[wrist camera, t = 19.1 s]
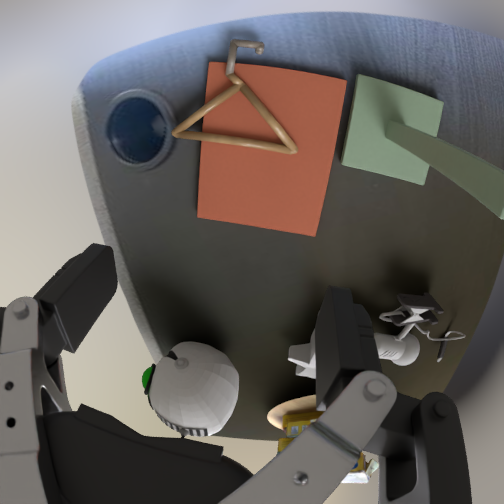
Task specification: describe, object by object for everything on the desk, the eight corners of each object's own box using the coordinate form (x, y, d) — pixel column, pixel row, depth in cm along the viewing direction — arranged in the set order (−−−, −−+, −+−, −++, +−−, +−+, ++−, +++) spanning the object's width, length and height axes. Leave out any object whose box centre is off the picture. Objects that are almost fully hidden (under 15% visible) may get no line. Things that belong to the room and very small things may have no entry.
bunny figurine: (278, 379, 44) (316, 324, 35) (281, 353, 48) (316, 294, 39) (332, 390, 45) (381, 339, 35) (332, 364, 49) (377, 310, 39)
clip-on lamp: (461, 303, 41) (396, 280, 36) (481, 327, 36) (420, 311, 31) (421, 353, 46) (349, 343, 41) (436, 378, 41) (365, 376, 36)
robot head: (156, 309, 45) (102, 415, 28) (247, 324, 44) (222, 447, 27) (169, 371, 54) (135, 460, 37) (242, 385, 53) (224, 482, 36)
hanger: (169, 137, 30) (181, 36, 24) (172, 136, 31) (184, 37, 25) (297, 156, 29) (316, 50, 24) (297, 154, 30) (316, 51, 24)
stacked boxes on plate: (379, 426, 58) (385, 488, 44) (277, 435, 63) (271, 496, 49) (395, 367, 46) (412, 449, 32) (258, 380, 51) (246, 463, 37)
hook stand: (356, 74, 26) (465, 57, 7) (495, 127, 25) (627, 193, 6) (340, 162, 31) (403, 278, 12) (475, 200, 30) (580, 307, 12)
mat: (211, 62, 27) (209, 61, 26) (345, 80, 26) (347, 80, 25) (198, 214, 36) (197, 217, 35) (314, 233, 35) (315, 236, 35)
